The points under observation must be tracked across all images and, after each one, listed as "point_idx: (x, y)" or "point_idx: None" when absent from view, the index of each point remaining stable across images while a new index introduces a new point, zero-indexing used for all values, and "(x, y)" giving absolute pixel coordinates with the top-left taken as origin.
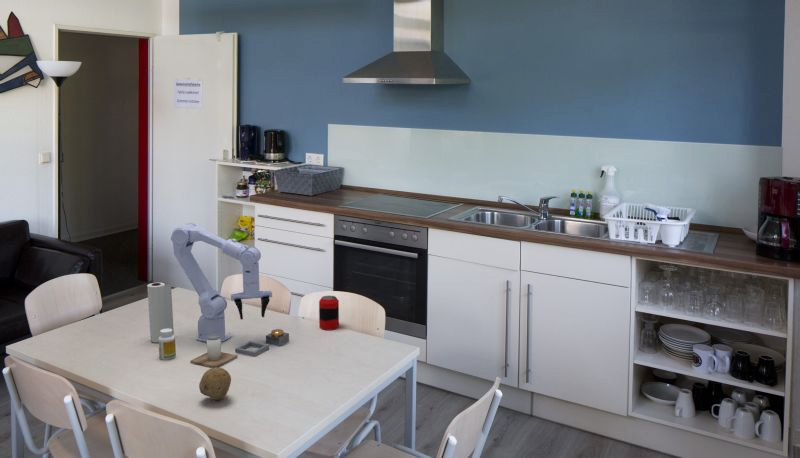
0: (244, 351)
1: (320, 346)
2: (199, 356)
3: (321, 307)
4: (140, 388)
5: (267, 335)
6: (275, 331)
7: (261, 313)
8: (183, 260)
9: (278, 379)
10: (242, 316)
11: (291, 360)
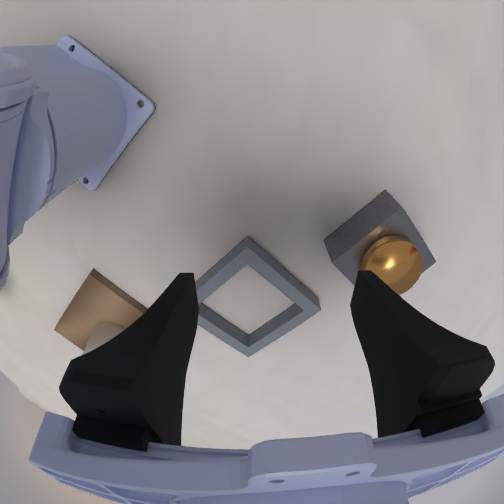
0: (213, 332)
1: (466, 312)
2: (66, 311)
3: None
4: (27, 384)
5: (341, 261)
6: (385, 275)
7: (363, 287)
8: None
9: (280, 434)
10: (193, 332)
11: (347, 380)
